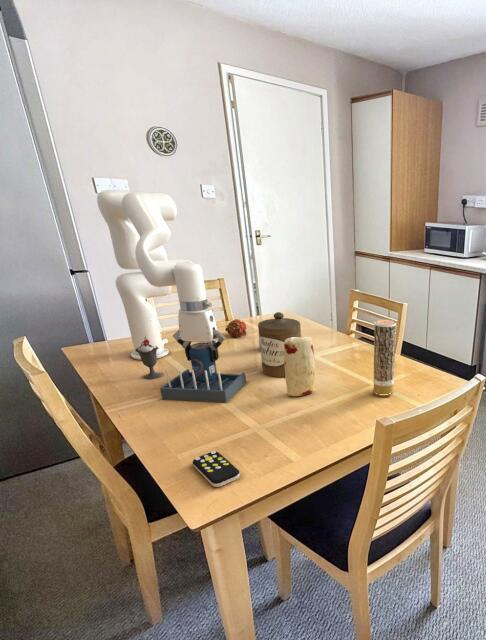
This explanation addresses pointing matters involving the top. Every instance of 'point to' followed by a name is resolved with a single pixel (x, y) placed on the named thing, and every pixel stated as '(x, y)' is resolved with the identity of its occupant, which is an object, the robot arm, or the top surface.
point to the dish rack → (202, 387)
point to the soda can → (202, 362)
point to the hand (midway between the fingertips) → (203, 359)
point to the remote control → (216, 469)
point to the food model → (299, 365)
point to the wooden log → (384, 357)
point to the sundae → (148, 357)
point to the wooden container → (276, 342)
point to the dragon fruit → (236, 328)
